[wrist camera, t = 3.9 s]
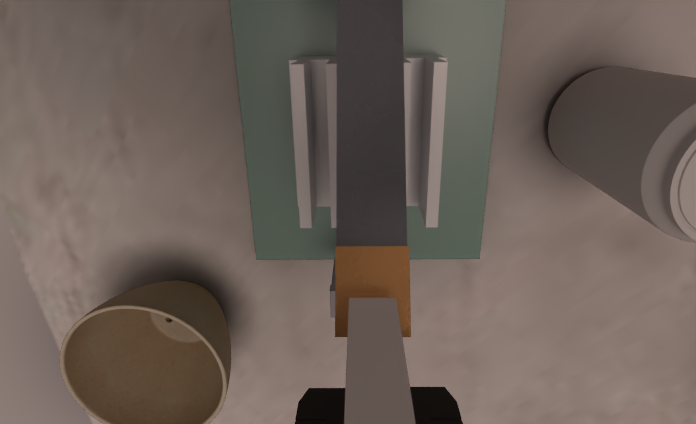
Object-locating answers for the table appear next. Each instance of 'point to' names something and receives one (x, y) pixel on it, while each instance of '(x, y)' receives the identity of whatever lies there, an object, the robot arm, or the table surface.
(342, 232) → the grey long bar
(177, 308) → the flower pot
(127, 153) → the table surface
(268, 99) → the board
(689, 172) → the beverage can
